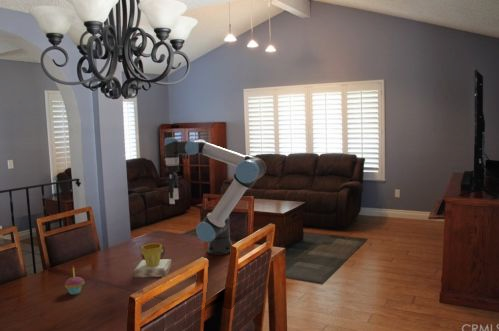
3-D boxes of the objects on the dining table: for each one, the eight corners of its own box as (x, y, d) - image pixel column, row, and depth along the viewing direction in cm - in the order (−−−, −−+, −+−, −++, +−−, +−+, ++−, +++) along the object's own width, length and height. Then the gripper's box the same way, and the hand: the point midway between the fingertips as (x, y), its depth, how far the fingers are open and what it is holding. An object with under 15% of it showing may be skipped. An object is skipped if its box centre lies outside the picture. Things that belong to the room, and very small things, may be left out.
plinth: (171, 265, 235) (171, 258, 234) (165, 276, 219) (165, 268, 219) (142, 266, 235) (141, 259, 235) (134, 277, 219) (133, 269, 219)
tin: (144, 264, 238) (143, 249, 237) (141, 263, 240) (140, 248, 239) (165, 257, 250) (164, 242, 249) (161, 256, 252) (160, 242, 251)
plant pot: (138, 266, 223) (137, 248, 222) (150, 260, 233) (149, 242, 231) (155, 268, 219) (154, 249, 218) (166, 262, 229) (165, 244, 228)
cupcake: (65, 290, 205) (63, 266, 203) (84, 287, 208) (82, 263, 207) (65, 297, 197) (63, 271, 195) (85, 293, 200) (83, 268, 199)
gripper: (169, 162, 259) (171, 197, 262) (161, 167, 234) (163, 206, 237) (182, 162, 259) (184, 197, 262) (175, 167, 234) (177, 205, 237)
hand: (174, 201), depth 249 cm, fingers open, 13 cm apart
